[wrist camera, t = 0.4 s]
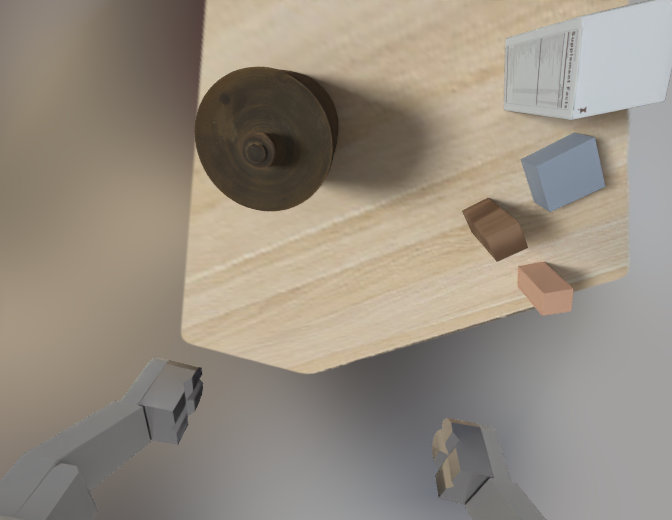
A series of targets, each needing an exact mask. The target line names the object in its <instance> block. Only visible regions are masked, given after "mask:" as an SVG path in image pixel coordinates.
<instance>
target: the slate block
mask: <svg viewBox="0 0 672 520" xmlns="http://www.w3.org/2000/svg"><path fill="white" fill-rule="evenodd" d="M521 162H522V165H523V168H524V171H525V175H526V178H527V181H528V184H529V187H530V190H531V193H532V197H533V200H534V202H535V203H536V204H538V205H539V206H541V207H543V208H544V209H546V210H547V211H549V212H551V211H554V210H556V209H558V208H560V207H562V206H564V205H567V204H569V203H571V202H573V201H575V200H578V199H580V198H582V197H584V196H586V195H588V194H591V193H593V192H595V191H597V190H599V189H601V188H604V187H605V183H604V178H603V173H602V169H601V164H600V159H599V154H598V150H597V145H596V140H595V137H591V136H587V135H582V134H578V133H572V134H570V135H568V136H566V137H564V138H562V139H560V140H558V141H556V142H554V143H552V144H551V145H549V146H547V147H545V148H543V149H541V150H539V151H537V152H535V153H533V154H531V155H529V156H527V157H525V158H523V159H521Z"/></svg>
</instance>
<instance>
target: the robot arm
mask: <svg viewBox="0 0 672 520" xmlns="http://www.w3.org/2000/svg"><path fill="white" fill-rule="evenodd" d="M201 375H202V368H201V367H197V366H192V365H188V364H184V363H179V362H174V361H171V360H166V359H161V358H156V357H155V358H153V359H152V360H151V361H149V363H148V364H147V365H146V367H145V368H144V370H143V371H142V372H141V374H140V375H139V376H138V378H137V379H136V380H135V382H134V383H133V385H132V386H131V387H130V389H129V390H128V391H127V393H126V394H125V396H124V397H123V398H122V400H121V401H114V402H112V403H110V404H109V405H107V406H105V407H104V408H102V409H100V410H98V411H97V412H95V413H93V414H91V415H90V416H88V417H86V418H84V419H83V420H81V421H79V422H78V423H76V424H74V425H72V426H71V427H69V428H67V429H65V430H64V431H62V432H60V433H58V434H57V435H55V436H53V437H51V438H50V439H48V440H46V441H45V442H43V443H41V444H40V445H38V446H36V447H34V448H32V449H31V450H29V451H27V452H25V453H24V454H23V455H22V456H21V457H20V458H19V459H18V461H17V462H16V463H15V464H14V465H13V466H12V468H11V469H10V470H9V471H8V472H7V473H6V474H5V475H4V476H3V478H2V479H1V480H0V520H93V518H94V517H95V515H96V513H97V511H98V510H97V505H96V503H95V501H94V499H93V497H92V495H91V493H90V491H91V490H92V489H93V488H95V487H96V486H97V485H98V484H100V483H101V482H102V481H103V480H105V479H106V478H107V477H108V476H109V475H110V474H112V473H113V472H114V471H116V470H117V469H118V468H119V467H121V466H122V465H123V464H124V463H125V462H126V461H128V460H129V459H130V458H132V457H133V456H134V455H135V454H137V453H138V452H139V451H140V450H141V449H143V448H144V447H145V446H146V445H148V444H149V443H150V442H151V440H152V441H158V442H164V443H170V444H176V445H178V444H179V442H180V440H181V438H182V436H183V434H184V432H185V430H186V428H187V426H188V416H189V415H191V414H192V413H193V412H195V410H196V408H197V406H198V404H199V402H200V399H201V396H202V391H203V382H202V381H201V380H200V377H201ZM442 428H443V429H441V430H438V431H437V432H436V434H435V436H434V439H433V445H432V454H433V461H434V462H435V464H436V465H437V467H438V468H439V470H438V472H437V473H436V475H435V477H436V484H437V491H438V498H439V499H443V500H448V501H452V502H456V503H460V504H465V508H466V509H467V511H468V513H469V515H470V516H471V518H472V520H546V519H545V517H544V516H543V515H542V514H541V512H540V511H539V510H538V509H537V508H536V506H535V505H534V504H533V503H532V501H531V500H530V499H529V498H528V496H527V495H526V494H525V493H524V492H523V490H522V489H521V488H520V487H519V485H518V484H517V483H514V482H512V480H511V477H510V474H509V471H508V468H507V464H506V461H505V458H504V455H503V452H502V449H501V446H500V443H499V439H498V436H497V433H496V431H495V429H494V428H493V427H490V426H485V425H480V424H476V423H472V422H467V421H461V420H455V419H450V418H446V419H444V421H443V422H442Z"/></svg>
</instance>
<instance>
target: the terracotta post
mask: <svg viewBox="0 0 672 520" xmlns="http://www.w3.org/2000/svg"><path fill="white" fill-rule="evenodd" d="M518 288H519V289H520V290H521V291H522V292H523V294H524V295H525V296H526V297H527V298H528V300H529V301H530V302H531V303H532V304H533V305H534V307H535V308H536V309H537V310H538V311H539V312H540V314H541V315H542V316H544V315H550V314H556V313H563V312H569V311H571V308H572V299H573V291H574V288H573V287H571V286H570V285H569V284H568V283H567V282H566V281H565V280H564V279H563V278H561V277H560V276H559V275H558V274H557V273H556V272H555V271H554V270H552V269H551V268H550V267H549V266H548V265H547V264H546V263H545V262H539V263H534V264H528V265H523V266H518Z"/></svg>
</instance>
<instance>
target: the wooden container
mask: <svg viewBox="0 0 672 520" xmlns="http://www.w3.org/2000/svg"><path fill="white" fill-rule="evenodd" d="M337 136H338V118H337V114H336V110H335V107H334V104H333V102H332V100H331V98H330V97H329V95H328V94H327V92H326V91H325V90H324V89H323V88H322V87H321V86H320V85H319V84H318V83H317V82H316V81H314V80H313V79H311V78H309V77H307V76H305V75H303V74H300V73H297V72H293V71H286V70H278V69H274V68H268V67H249V68H243V69H239V70H236V71H233V72H231V73H229V74H227V75H226V76H224V77H222V78H221V79H219V80H218V81H217V82H216V83H215V84H214V85H213V86H212V87H211V88H210V89H209V90H208V92H207V93H206V94H205V96H204V98H203V100H202V102H201V104H200V106H199V109H198V112H197V116H196V121H195V142H196V148H197V152H198V155H199V158H200V161H201V163H202V165H203V168H204V170H205V171H206V173H207V175H208V176H209V178H210V179H211V181H212V182H213V183H214V184H215V185H216V187H217V188H218V189H219V190H220V191H221V192H223V193H224V194H225V195H226V196H227V197H229V198H230V199H232V200H233V201H235V202H236V203H238V204H240V205H243V206H245V207H248V208H251V209H255V210H260V211H281V210H286V209H289V208H292V207H295V206H297V205H299V204H301V203H303V202H304V201H306V200H307V199H308V198H310V197H311V196H312V195H313V194H314V193H315V192H316V191H317V190H318V189H319V187H320V186H321V185H322V183H323V182H324V180H325V178H326V176H327V174H328V172H329V170H330V167H331V164H332V160H333V155H334V152H335V148H336V143H337Z"/></svg>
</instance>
